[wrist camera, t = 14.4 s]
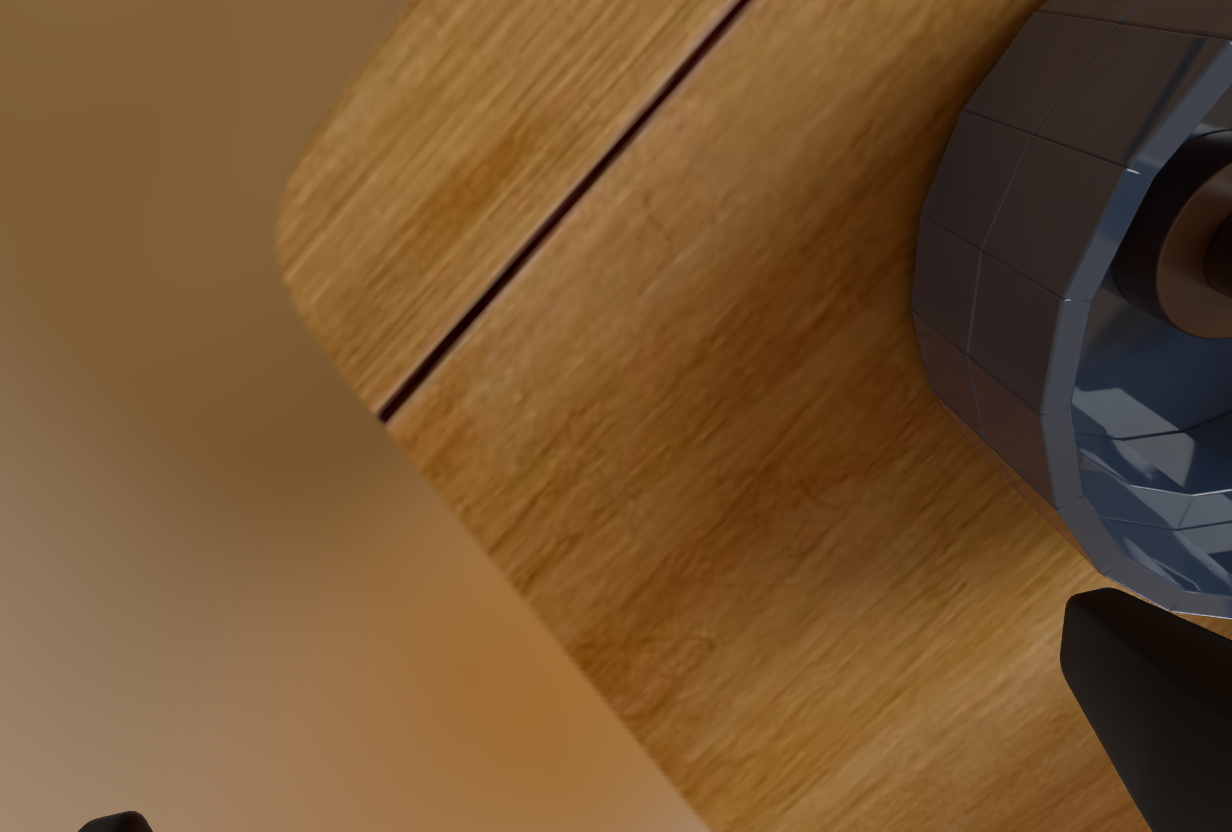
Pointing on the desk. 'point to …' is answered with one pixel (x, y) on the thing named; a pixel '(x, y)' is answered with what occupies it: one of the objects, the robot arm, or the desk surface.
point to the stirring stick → (1184, 242)
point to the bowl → (1085, 292)
